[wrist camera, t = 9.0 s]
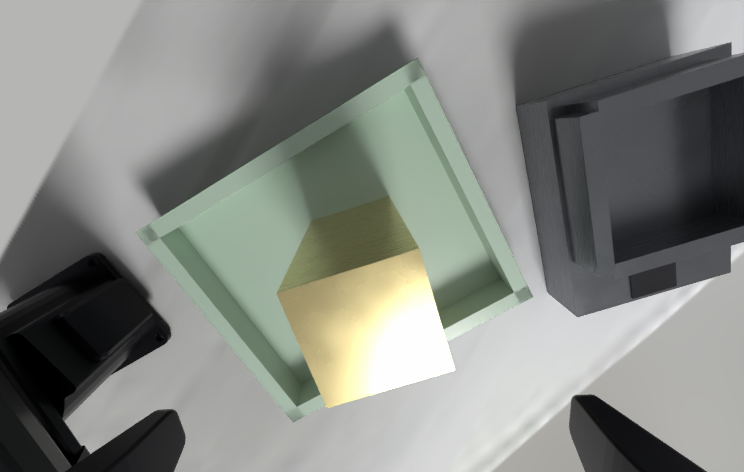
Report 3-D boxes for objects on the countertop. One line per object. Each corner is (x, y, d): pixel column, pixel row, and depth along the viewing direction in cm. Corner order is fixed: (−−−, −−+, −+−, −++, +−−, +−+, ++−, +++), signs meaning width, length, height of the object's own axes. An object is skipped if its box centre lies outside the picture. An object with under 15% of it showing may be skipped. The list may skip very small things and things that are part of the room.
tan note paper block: (338, 291, 20) (326, 408, 12) (311, 220, 19) (276, 293, 10) (411, 268, 20) (454, 369, 12) (389, 195, 19) (419, 248, 10)
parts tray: (299, 392, 23) (292, 422, 20) (162, 220, 19) (135, 232, 17) (512, 278, 21) (533, 296, 19) (408, 67, 18) (417, 57, 15)
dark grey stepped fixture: (547, 292, 22) (602, 338, 17) (516, 106, 18) (572, 96, 14) (680, 253, 21) (773, 288, 17) (671, 56, 18) (785, 29, 13)
